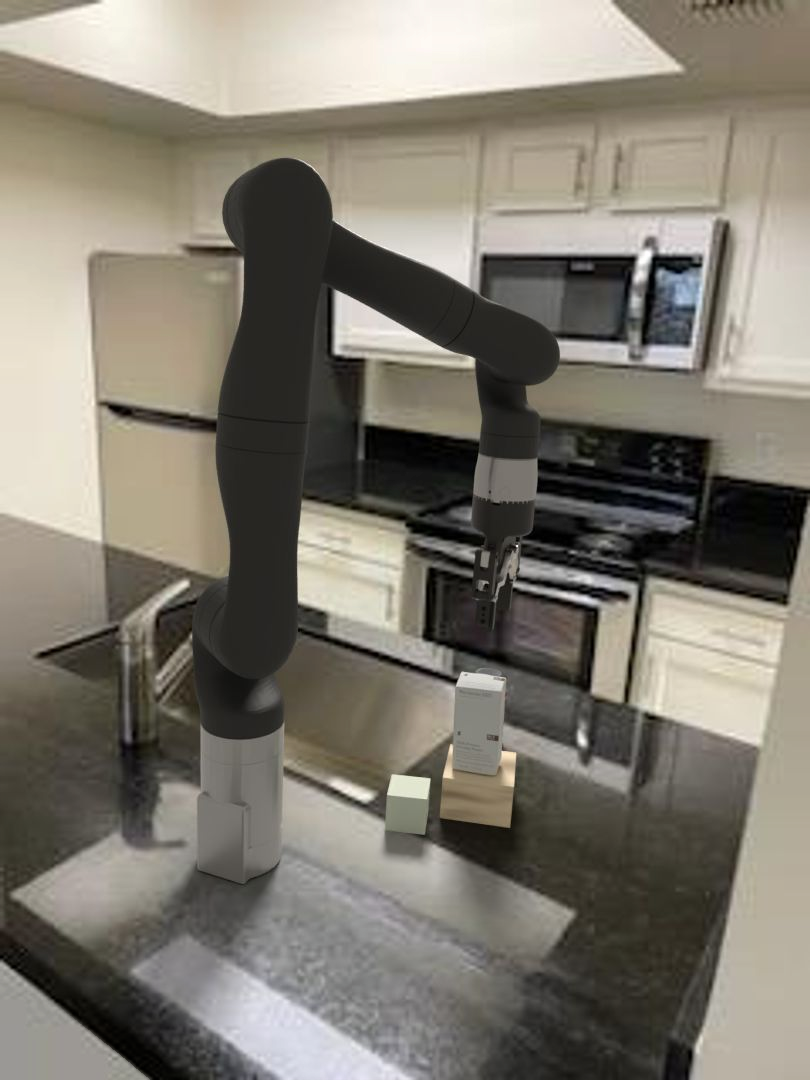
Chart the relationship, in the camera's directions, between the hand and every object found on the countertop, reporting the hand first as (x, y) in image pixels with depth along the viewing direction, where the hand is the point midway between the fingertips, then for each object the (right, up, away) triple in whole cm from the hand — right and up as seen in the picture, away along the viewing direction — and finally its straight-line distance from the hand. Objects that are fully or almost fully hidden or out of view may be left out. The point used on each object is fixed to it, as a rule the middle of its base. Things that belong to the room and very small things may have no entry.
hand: (493, 619), depth 105 cm
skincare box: (-1, -19, +4) cm, 20 cm away
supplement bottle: (+1, -21, +23) cm, 31 cm away
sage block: (-11, -26, +1) cm, 28 cm away
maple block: (-1, -25, +6) cm, 26 cm away
